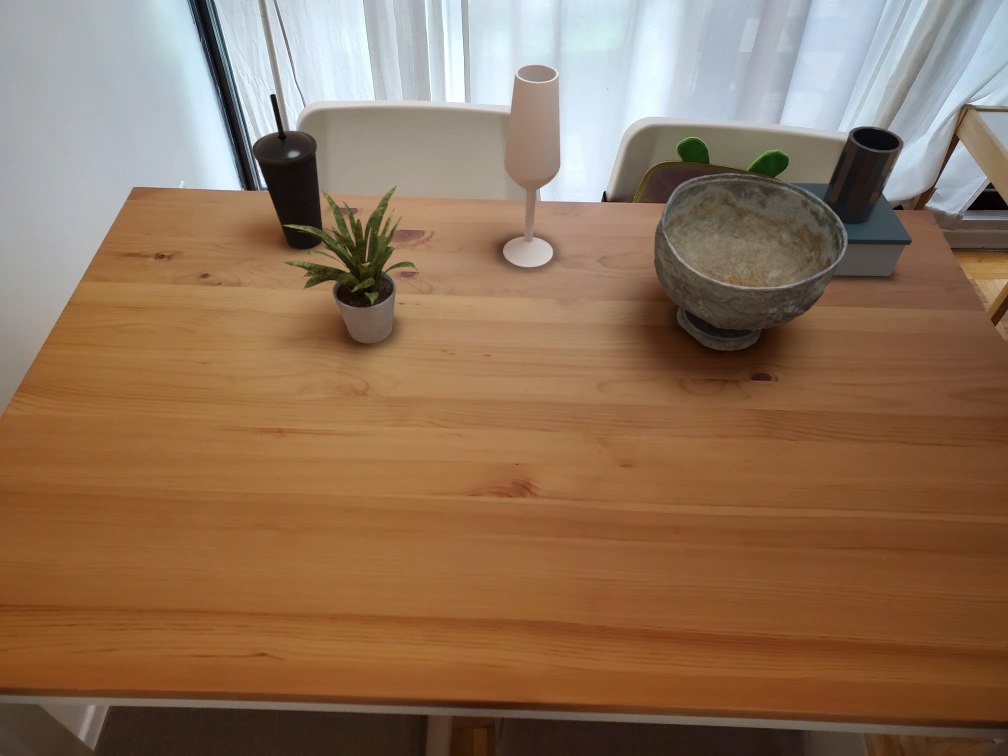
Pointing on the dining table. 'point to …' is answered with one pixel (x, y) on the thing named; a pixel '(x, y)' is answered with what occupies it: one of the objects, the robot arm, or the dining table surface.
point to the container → (869, 239)
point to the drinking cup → (291, 180)
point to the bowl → (744, 255)
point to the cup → (862, 173)
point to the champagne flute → (533, 152)
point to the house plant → (358, 272)
